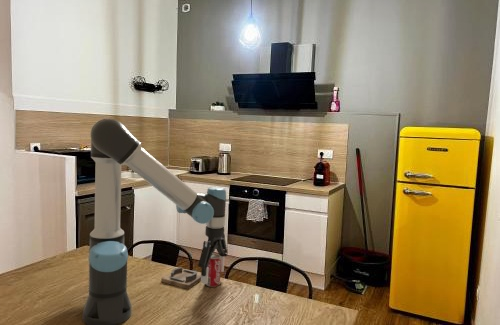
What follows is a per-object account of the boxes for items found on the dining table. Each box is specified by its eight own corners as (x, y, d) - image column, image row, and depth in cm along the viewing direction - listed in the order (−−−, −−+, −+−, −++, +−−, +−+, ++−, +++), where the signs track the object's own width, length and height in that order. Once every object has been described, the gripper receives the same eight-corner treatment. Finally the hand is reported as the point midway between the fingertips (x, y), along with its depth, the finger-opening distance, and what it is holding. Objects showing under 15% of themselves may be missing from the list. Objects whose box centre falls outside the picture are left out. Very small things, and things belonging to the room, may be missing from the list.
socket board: (205, 277, 157) (205, 269, 157) (188, 288, 145) (189, 280, 145) (179, 271, 162) (179, 263, 162) (161, 281, 150) (161, 274, 150)
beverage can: (221, 282, 153) (222, 254, 152) (218, 288, 147) (219, 259, 146) (206, 280, 154) (207, 252, 152) (203, 287, 147) (204, 258, 146)
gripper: (221, 218, 161) (218, 265, 163) (190, 231, 138) (188, 286, 140) (236, 220, 158) (234, 268, 160) (207, 235, 135) (205, 290, 137)
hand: (212, 277), depth 150 cm, fingers open, 13 cm apart
